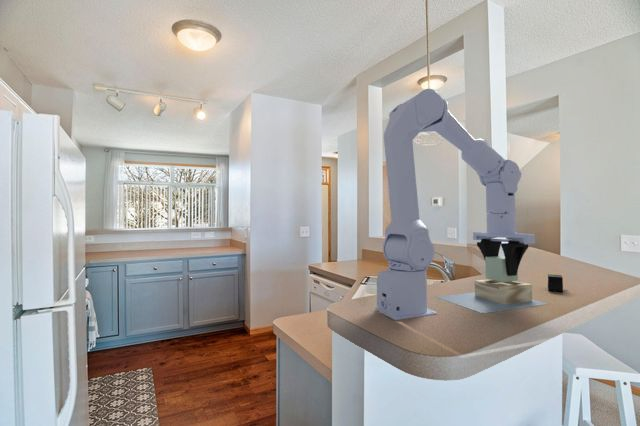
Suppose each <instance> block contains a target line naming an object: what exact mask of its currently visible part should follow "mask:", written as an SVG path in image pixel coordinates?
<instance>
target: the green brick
mask: <svg viewBox="0 0 640 426" xmlns="http://www.w3.org/2000/svg"><path fill="white" fill-rule="evenodd" d="M484 261H485V262H484V263H485V280H486V279H490V280H495V281H499V282H510V281H518V282H519V270H518V271H517V275H515V276H507V272H506V261H505V256H502V255H498V256H492V257H485V259H484Z"/></svg>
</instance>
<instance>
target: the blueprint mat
mask: <svg viewBox="0 0 640 426" xmlns="http://www.w3.org/2000/svg"><path fill="white" fill-rule="evenodd" d="M435 298H437V299H439V300H442V301H445V302H448V303H451V304H454V305H456V306H460V307H463V308H465V309H469V310H471V311H474V312H477V313H480V314H491V313H496V312H504V311H512V310H517V309H525V308H531V307H532V308H533V307H539V306H544V305H545V306H546V305H549V303H547V302H543V301H539V300H537V299H536V300H535V299H532V301H527V302H520V303H513V304H506V305H504V304H501V303H497V302H494V301H490V300H487V299H484V298H480V297H477V296H475V291H472V292H464V293H455V294H447V295H438V296H435Z"/></svg>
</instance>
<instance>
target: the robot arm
mask: <svg viewBox="0 0 640 426" xmlns="http://www.w3.org/2000/svg"><path fill="white" fill-rule="evenodd" d="M448 104H449V103H448V100H446V99H445V98H443V97H442V96H441V94H440V93H439V92H438V91H436V90H435V89H433V88H425V89H423V90H421V91H420V92H419V93H417V94H416V95H414V96H412V97H411V98H409V99H407V100H406V101H404V102H403V103H400V104H398V105H396V107H394V108H393V109H392V110H391V111H390V112H389V113H388V117H389V120H388V121H387V125H386V127H385V129H384V132H383V143H384V154H385V155H384V156H385V165H386V176H387V178H386V179H387V186H388V187H387V190H388V197H389V199H388V200H389V209H390V219H391V221H390V223H389V224H388V226H387V227H386V228H385V230H384V234H385V237H384V242H383V245H382V253H383V256H384V257H385V260H387V262H388V267H389V268H388V269H384V270H381V271H379V272H378V275H377V277H376V307H374V308H375V310H376V311H377V312H378V313H381V314H383V315H385V316H387V317H389V319H392V320H394V321H399V320H404V319H405V320H406V319H411V318H418V317H419V318H420V317H427V316H432V315H433V316H435V315H437V314H438V312H437V311H435V310H432V309H430V308H428V287H427V285H428V284H427V282H428V281H427V275H428V274H427V270H429V266H430V265H431V264H432V262H433V260H434V258H435V246H434V244H433V242H432V240H431V238H430V235H429V234H430V233H429V229H428V227H427V226H426V225H425V224H424V223H423V222H422V220H421V218H420V211H419V210H420V209H419V199H418V198H419V197H418V190H417V189H418V187H417V176H416V168H415V165H416V164H415V155H414V145H413V144H414V143H413V140H415V138H416V137H417V136H418V135H419V134H420V133H427V132H435V133H437V134H438V135H439V136H441V137H442V138H443V139H445V141H448V142H449V143H450V144H452V146H454V147H455V148H457V149H458V150H460V152H461V159H462V161H464V162H465V163H466V164H467V165H468V166H470V168H471V169H472V170H474V171H475V172H476V175H478V177H479V181H480V183H481V185H482V186H485V198H486V199H485V200H486V201H485V202H486V203H485V204H486V205H485V207H486V231H473V232H472V240H474V241H477V242H476V246H477V247H478V249H479V250H480V253H481V254H482V256H483V259H484V260H485V257H492V256H499V253H500V250H501V249H502V252H503V255H504V257H505V261H506V272H507V276H515V275H517V271H518V272H519V268H520V263H521V261H522V259H523V257H524V255H525V253H526V251H528V248H529V245H532V244H535V243H536V239H535V238H536V235H535V234H534V233H533V234H531V233H520V232H517V228H516V221H517V220H516V193H517V191H518V184H519V182H520V181H521V177H522V171H520V167H519V165H518V164H517V163H516V162H515V161H513V160H510V159H505V158H504V157H503V156H502V155H500V154H499V153H498V151H496V150H495V149H494V148H493V147H492V146H491V145H490V144H489V142H488V141H487V140H486V139H483V138H477V139H475V138H474V137H473V136H472V135H471V134H470V133H469V132H468V130H467V129H465V127H464V126H463V125H462V124H461V123H460V122H459V121H458V120H457V118H455V116H454V115H453V114H452V113H451V112H450V111H449V105H448ZM502 238H505V239H502ZM502 242H503V243H502Z"/></svg>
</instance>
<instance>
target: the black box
mask: <svg viewBox="0 0 640 426" xmlns="http://www.w3.org/2000/svg"><path fill="white" fill-rule="evenodd" d="M566 289H567V288H564V280H563V276H562V274H553V273H552V274H550V273H548V274H547V291H548V292H551V293H552V292H553V293H564V292H568V291H567V290H568V289H567V290H566Z"/></svg>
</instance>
